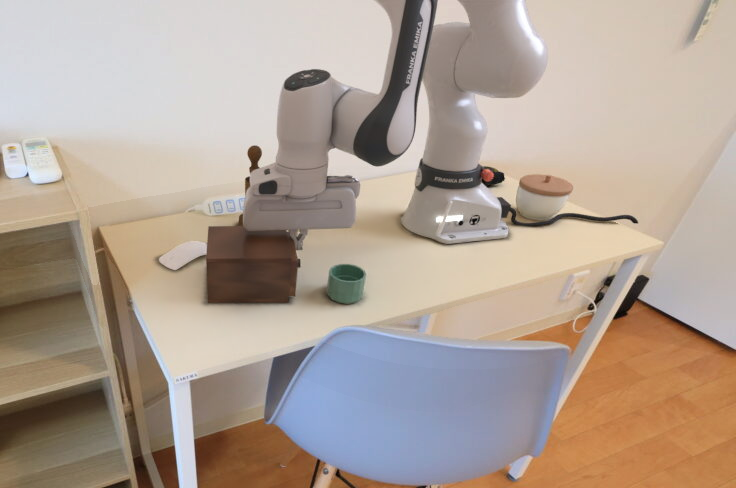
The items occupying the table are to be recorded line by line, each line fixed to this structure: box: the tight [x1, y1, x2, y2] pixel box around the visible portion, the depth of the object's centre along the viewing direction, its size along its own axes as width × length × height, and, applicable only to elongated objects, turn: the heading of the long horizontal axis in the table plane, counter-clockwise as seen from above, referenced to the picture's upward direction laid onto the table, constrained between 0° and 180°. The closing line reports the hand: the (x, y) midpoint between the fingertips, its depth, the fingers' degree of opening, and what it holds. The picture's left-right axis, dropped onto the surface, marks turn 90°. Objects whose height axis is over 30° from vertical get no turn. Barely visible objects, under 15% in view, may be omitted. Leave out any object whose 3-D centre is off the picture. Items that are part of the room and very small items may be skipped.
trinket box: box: [515, 173, 574, 221], centre depth 118 cm, size 11×11×9 cm
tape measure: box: [482, 165, 506, 187], centre depth 135 cm, size 7×7×4 cm
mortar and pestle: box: [238, 144, 263, 226], centre depth 113 cm, size 7×6×18 cm
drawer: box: [287, 230, 302, 297], centre depth 96 cm, size 15×11×7 cm
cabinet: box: [205, 225, 292, 304], centre depth 96 cm, size 15×13×9 cm
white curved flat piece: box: [158, 240, 207, 271], centre depth 107 cm, size 7×12×2 cm, turn 128°
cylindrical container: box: [326, 263, 367, 305], centre depth 94 cm, size 6×6×5 cm
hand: (296, 249), depth 98 cm, fingers closed, pressing on drawer
